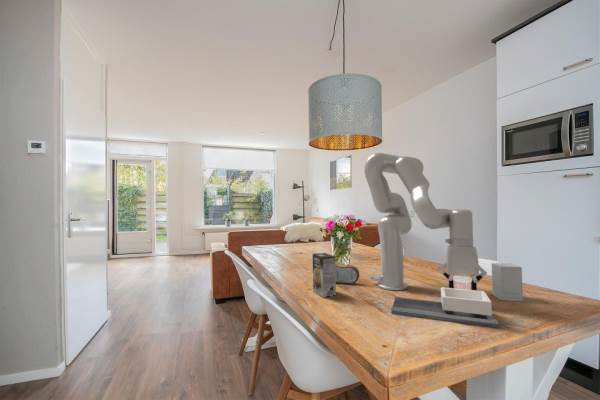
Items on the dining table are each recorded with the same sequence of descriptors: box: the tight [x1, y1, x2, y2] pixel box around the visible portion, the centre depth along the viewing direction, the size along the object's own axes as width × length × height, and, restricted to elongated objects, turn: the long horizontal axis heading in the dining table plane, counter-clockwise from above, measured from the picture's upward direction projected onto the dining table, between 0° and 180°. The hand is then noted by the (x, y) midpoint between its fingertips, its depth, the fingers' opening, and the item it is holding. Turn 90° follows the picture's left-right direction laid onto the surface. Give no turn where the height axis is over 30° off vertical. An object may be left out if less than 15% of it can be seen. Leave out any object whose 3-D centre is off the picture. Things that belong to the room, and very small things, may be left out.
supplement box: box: [491, 262, 524, 302], centre depth 108 cm, size 7×7×13 cm
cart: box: [440, 286, 493, 319], centre depth 91 cm, size 13×11×6 cm
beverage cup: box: [452, 275, 472, 290], centre depth 104 cm, size 6×6×14 cm
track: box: [390, 296, 499, 329], centre depth 94 cm, size 30×12×2 cm, turn 66°
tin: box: [335, 263, 360, 285], centre depth 132 cm, size 15×3×8 cm, turn 71°
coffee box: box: [312, 252, 337, 298], centre depth 117 cm, size 9×6×16 cm
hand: (462, 291), depth 104 cm, fingers closed on beverage cup, 6 cm apart
